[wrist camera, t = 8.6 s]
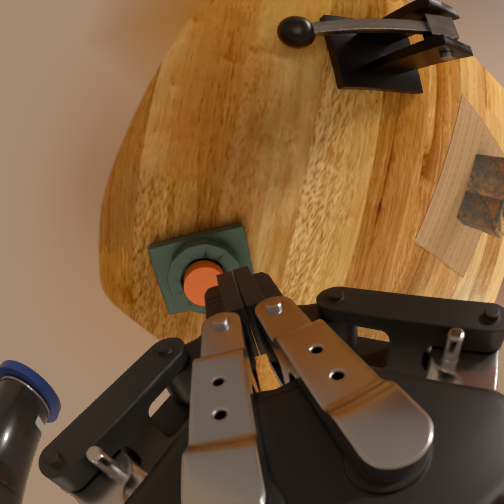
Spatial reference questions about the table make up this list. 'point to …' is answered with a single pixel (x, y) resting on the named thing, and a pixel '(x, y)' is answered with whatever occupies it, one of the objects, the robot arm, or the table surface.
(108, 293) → the table surface
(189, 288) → the button
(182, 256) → the button box
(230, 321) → the robot arm
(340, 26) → the lever
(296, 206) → the table surface
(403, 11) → the bracket
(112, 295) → the table surface
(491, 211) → the architectural model on board
